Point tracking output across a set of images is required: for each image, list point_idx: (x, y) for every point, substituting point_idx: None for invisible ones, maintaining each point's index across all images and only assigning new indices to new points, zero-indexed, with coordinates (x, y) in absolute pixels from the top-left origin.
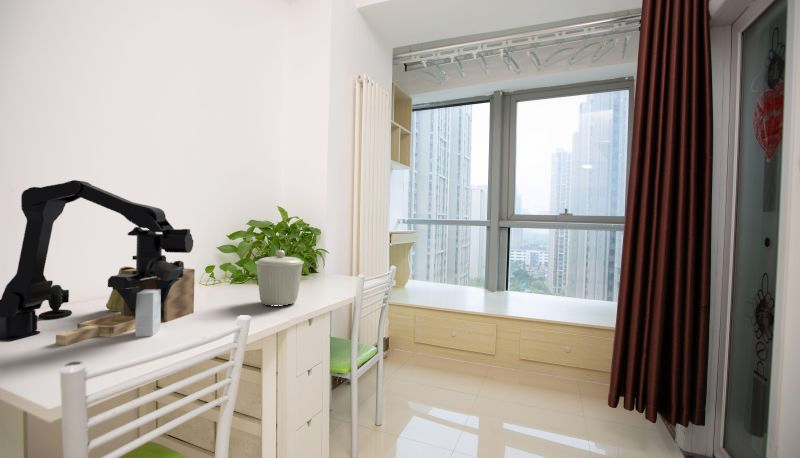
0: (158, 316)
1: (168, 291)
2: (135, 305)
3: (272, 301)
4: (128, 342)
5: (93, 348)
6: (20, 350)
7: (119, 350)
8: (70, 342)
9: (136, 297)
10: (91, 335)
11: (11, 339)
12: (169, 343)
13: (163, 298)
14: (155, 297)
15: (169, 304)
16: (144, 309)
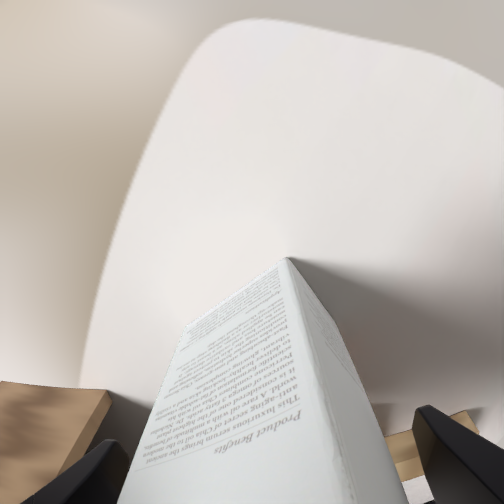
0: (196, 359)
1: (33, 499)
2: (449, 436)
3: None
4: (403, 271)
5: (480, 320)
6: (489, 439)
7: (480, 201)
8: (454, 419)
9: (497, 489)
10: (391, 442)
11: (435, 502)
12: (327, 53)
13: (98, 471)
14: (244, 492)
15: (59, 447)
16: (356, 401)
